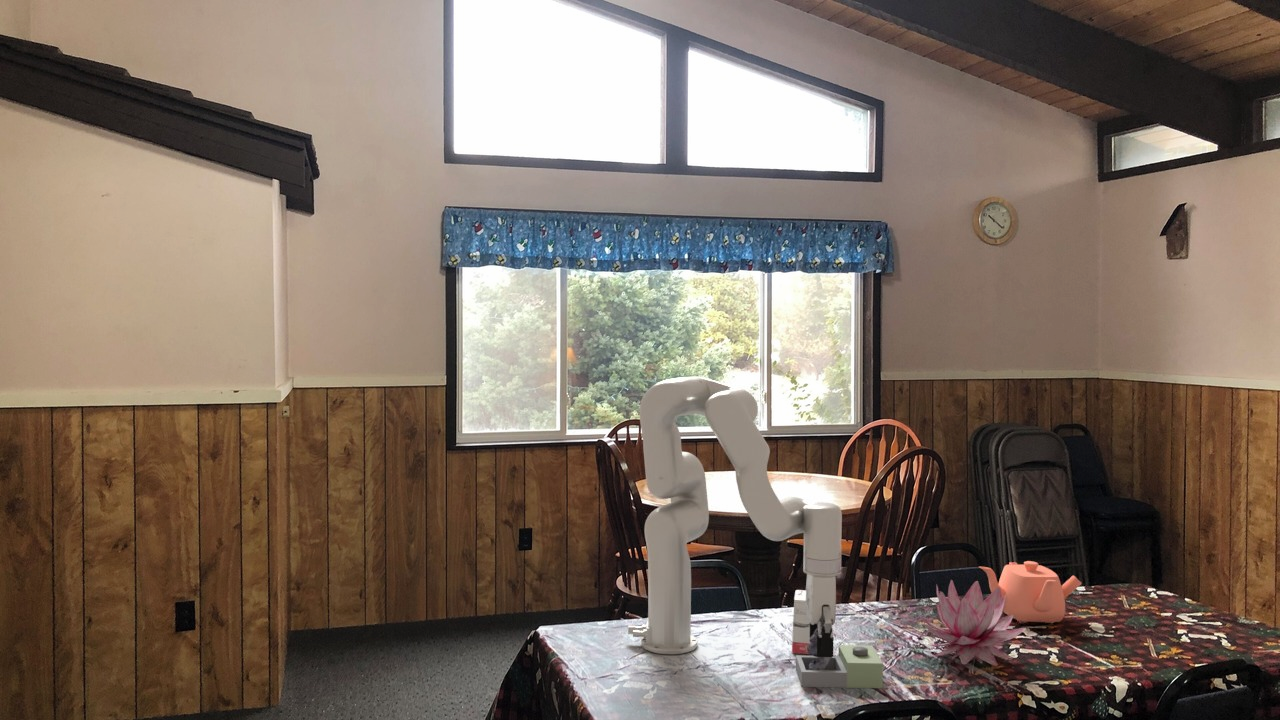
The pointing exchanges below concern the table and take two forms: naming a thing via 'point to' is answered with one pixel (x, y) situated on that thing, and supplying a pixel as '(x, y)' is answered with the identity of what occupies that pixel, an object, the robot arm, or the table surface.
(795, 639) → the ink box
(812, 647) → the seashell
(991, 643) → the decorative flower
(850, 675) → the green and grey box
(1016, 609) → the teapot
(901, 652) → the table surface
